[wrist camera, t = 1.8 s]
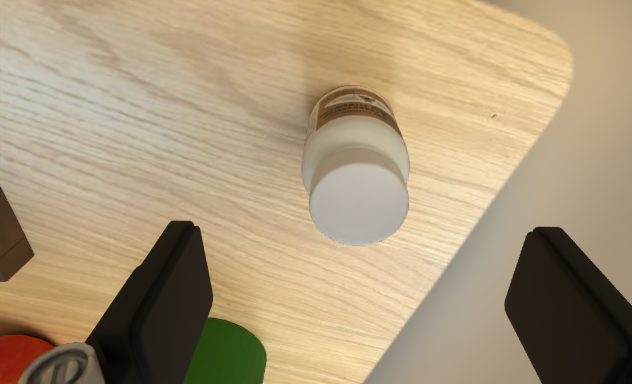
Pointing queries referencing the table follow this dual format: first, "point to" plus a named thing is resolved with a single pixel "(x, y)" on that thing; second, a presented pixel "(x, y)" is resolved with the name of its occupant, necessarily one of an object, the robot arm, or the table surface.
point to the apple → (19, 355)
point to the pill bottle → (355, 167)
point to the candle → (226, 356)
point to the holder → (11, 243)
